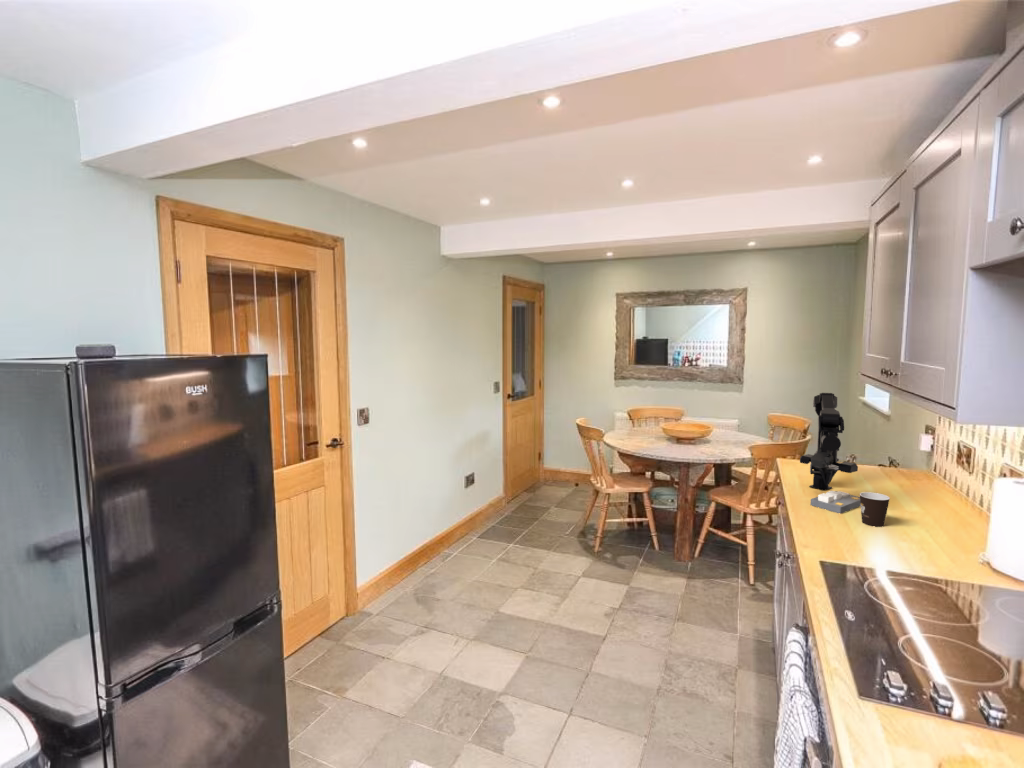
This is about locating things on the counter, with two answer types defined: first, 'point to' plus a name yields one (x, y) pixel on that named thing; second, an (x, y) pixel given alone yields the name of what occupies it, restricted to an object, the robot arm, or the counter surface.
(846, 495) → the key
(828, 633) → the counter surface
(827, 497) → the key
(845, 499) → the keyguard plate
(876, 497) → the coffee mug
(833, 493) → the middle key
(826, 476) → the robot arm
